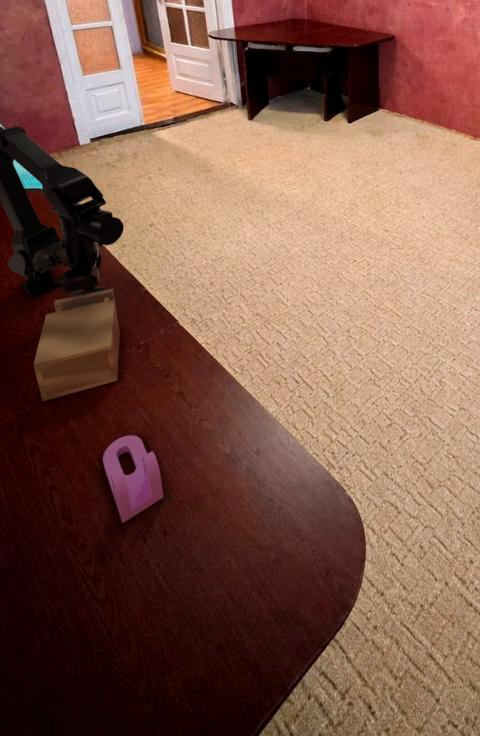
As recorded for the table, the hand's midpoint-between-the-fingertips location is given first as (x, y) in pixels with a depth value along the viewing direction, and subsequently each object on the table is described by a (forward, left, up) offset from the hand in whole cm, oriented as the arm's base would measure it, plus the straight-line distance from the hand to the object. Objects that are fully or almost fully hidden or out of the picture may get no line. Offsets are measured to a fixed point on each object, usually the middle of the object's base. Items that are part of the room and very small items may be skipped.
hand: (89, 292), depth 107 cm
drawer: (+8, -5, -3) cm, 10 cm away
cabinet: (+15, -9, -4) cm, 18 cm away
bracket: (+43, -15, -4) cm, 46 cm away
